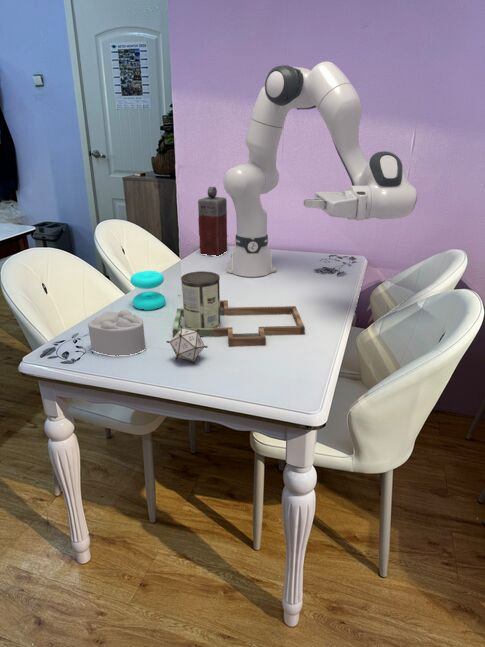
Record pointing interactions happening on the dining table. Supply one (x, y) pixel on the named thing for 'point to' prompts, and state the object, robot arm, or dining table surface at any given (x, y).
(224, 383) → the dining table surface
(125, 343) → the lumpy-topped squat cylinder
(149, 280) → the donuts
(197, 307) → the coffee can
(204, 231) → the red grey square bottle
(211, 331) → the brown wooden frame
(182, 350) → the game die
